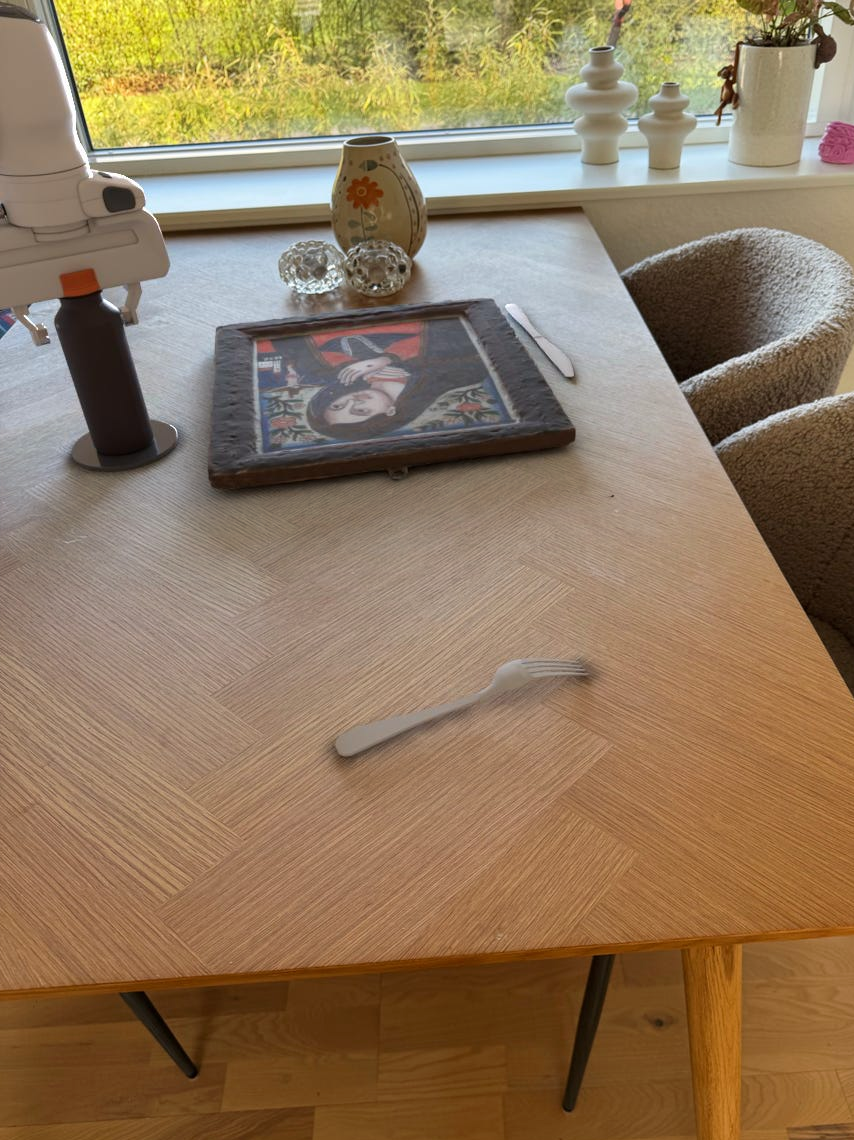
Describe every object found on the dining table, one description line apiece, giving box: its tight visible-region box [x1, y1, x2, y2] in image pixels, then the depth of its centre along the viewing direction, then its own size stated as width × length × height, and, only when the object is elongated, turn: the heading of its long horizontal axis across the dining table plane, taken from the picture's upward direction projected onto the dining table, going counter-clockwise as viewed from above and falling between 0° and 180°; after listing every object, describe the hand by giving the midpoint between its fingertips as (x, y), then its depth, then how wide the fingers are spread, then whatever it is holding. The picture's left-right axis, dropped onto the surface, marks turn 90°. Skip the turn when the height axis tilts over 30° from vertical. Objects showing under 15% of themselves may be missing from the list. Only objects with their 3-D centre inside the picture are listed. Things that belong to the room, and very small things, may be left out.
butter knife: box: [504, 303, 575, 378], centre depth 131 cm, size 1×27×3 cm
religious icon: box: [207, 297, 577, 491], centre depth 119 cm, size 40×45×3 cm
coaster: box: [71, 418, 179, 472], centre depth 111 cm, size 12×12×1 cm
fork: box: [334, 657, 590, 758], centre depth 74 cm, size 3×21×3 cm, turn 114°
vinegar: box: [53, 268, 154, 456], centre depth 105 cm, size 7×7×20 cm
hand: (87, 333), depth 103 cm, fingers open, 8 cm apart
